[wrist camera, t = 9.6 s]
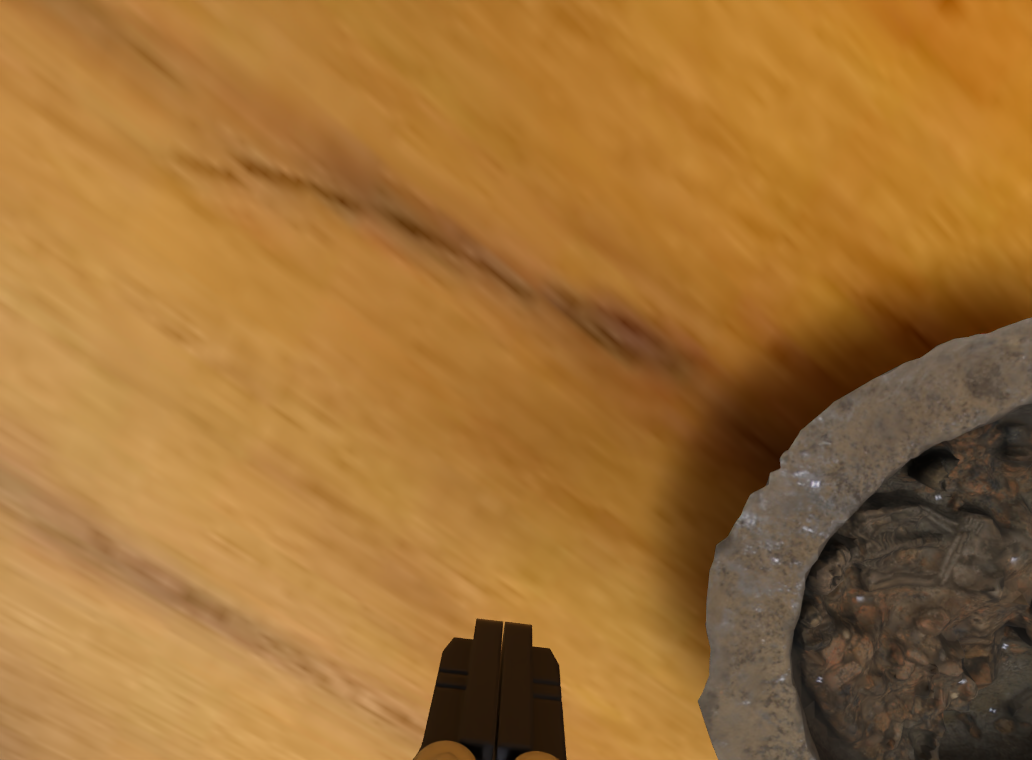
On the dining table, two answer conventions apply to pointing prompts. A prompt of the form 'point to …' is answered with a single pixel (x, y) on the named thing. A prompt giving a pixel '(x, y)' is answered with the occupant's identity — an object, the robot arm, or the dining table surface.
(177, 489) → the dining table surface
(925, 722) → the stone bowl
